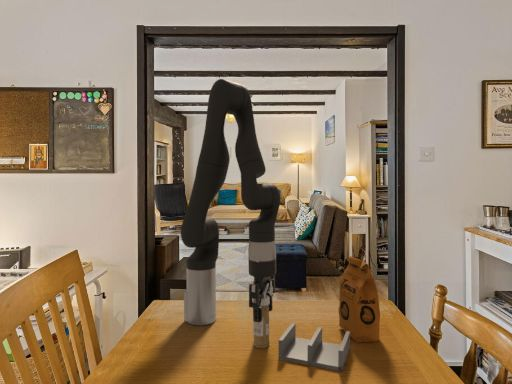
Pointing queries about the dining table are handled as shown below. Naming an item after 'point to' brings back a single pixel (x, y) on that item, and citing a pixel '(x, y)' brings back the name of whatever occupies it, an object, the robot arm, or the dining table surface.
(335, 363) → the bottle rack
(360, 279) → the coffee package
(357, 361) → the dining table surface
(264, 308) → the sprinkles bottle
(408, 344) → the dining table surface
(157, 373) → the dining table surface
